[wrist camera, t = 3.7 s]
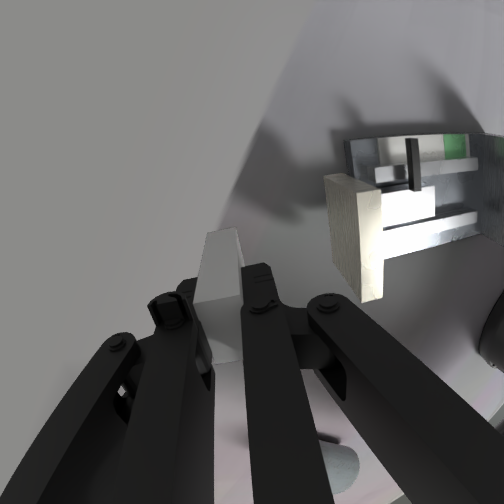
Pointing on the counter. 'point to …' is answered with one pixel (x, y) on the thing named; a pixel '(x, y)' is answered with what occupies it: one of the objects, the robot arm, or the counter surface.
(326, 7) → the counter surface
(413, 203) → the sliding gauge carriage
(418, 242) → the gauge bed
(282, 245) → the counter surface
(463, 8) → the counter surface
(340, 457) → the grey tan cylinder
